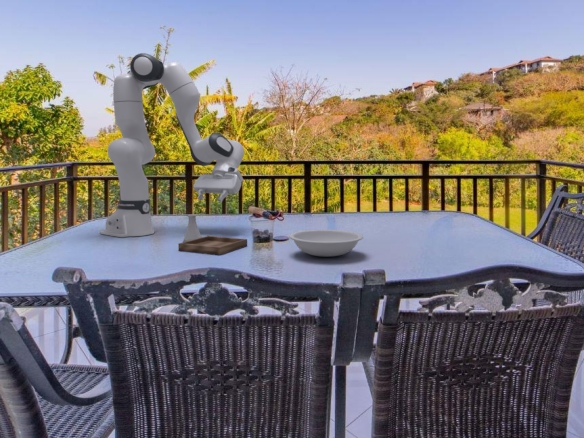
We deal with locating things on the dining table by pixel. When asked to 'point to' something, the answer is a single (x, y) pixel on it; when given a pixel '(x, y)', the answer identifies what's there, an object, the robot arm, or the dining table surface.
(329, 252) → the soup bowl
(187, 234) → the flask
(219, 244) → the walnut tray
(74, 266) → the dining table surface
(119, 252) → the dining table surface
